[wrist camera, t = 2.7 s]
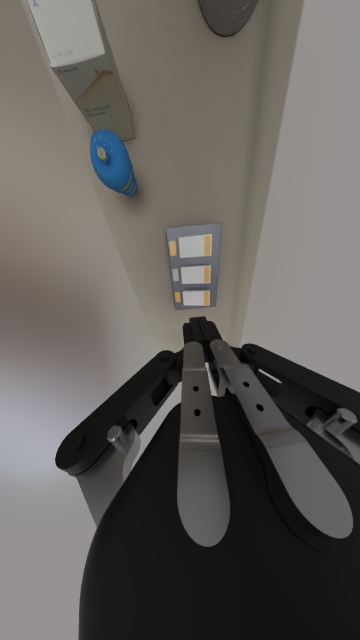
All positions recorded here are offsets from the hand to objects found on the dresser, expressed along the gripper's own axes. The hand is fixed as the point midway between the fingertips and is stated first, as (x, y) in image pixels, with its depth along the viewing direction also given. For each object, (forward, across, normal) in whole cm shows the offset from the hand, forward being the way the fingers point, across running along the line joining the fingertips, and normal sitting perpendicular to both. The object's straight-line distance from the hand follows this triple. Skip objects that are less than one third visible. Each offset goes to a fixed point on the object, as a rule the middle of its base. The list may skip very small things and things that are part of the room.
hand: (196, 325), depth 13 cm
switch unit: (+27, -3, 0) cm, 27 cm away
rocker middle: (+22, -3, 0) cm, 22 cm away
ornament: (+27, +9, -17) cm, 33 cm away
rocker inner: (+22, -3, -6) cm, 23 cm away
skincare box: (+27, +10, -26) cm, 39 cm away
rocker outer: (+22, -3, +6) cm, 23 cm away
